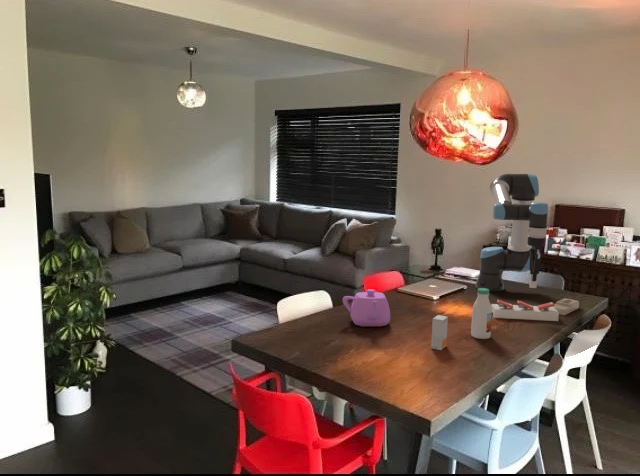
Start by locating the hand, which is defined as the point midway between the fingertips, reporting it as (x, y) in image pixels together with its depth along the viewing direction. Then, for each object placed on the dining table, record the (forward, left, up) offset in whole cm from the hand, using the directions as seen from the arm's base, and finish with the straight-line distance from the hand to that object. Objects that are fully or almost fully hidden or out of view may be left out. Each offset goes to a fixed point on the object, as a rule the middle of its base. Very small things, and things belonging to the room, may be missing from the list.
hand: (532, 287), depth 242 cm
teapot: (+22, -73, -15) cm, 77 cm away
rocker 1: (0, -12, -8) cm, 14 cm away
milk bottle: (+31, -27, -15) cm, 43 cm away
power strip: (-1, -6, -14) cm, 16 cm away
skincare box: (+47, -45, -15) cm, 66 cm away
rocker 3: (0, +6, -8) cm, 10 cm away
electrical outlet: (-16, +19, -15) cm, 29 cm away
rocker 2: (0, -3, -8) cm, 9 cm away
